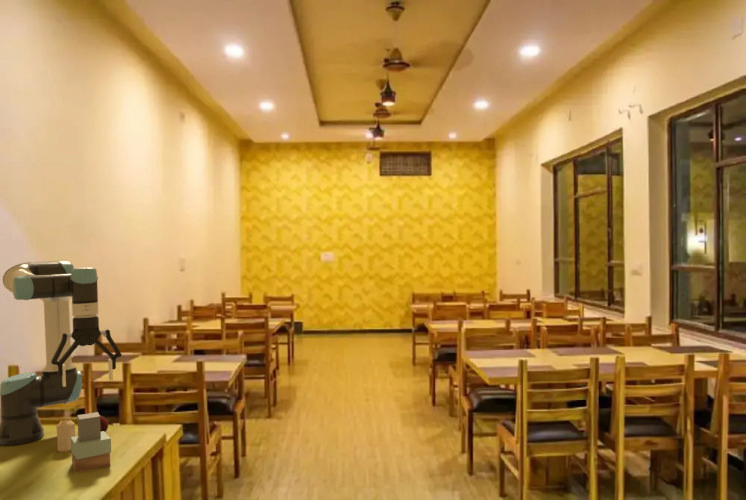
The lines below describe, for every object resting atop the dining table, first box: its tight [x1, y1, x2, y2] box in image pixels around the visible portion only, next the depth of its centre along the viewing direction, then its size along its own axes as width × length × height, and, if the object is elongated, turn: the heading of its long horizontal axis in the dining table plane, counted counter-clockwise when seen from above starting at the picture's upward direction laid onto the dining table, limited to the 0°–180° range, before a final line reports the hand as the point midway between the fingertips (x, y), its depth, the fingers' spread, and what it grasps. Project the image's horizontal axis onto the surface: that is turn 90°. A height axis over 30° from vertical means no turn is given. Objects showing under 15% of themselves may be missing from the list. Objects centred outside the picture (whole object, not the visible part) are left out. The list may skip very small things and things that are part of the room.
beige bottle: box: [56, 418, 76, 453], centre depth 212 cm, size 6×6×10 cm
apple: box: [99, 414, 109, 433], centre depth 226 cm, size 7×8×8 cm
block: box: [77, 411, 101, 442], centre depth 196 cm, size 6×6×7 cm
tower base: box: [71, 453, 111, 474], centre depth 196 cm, size 10×10×4 cm
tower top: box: [70, 431, 112, 460], centre depth 196 cm, size 10×10×4 cm
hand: (88, 382), depth 196 cm, fingers open, 13 cm apart
